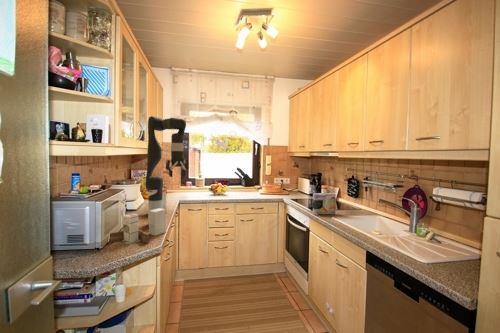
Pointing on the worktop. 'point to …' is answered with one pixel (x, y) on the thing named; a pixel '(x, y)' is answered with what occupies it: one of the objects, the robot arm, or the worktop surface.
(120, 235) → the arena
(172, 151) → the robot arm
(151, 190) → the cracker box
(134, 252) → the worktop surface
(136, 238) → the syrup box
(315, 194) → the cake pan box
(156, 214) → the skincare box
